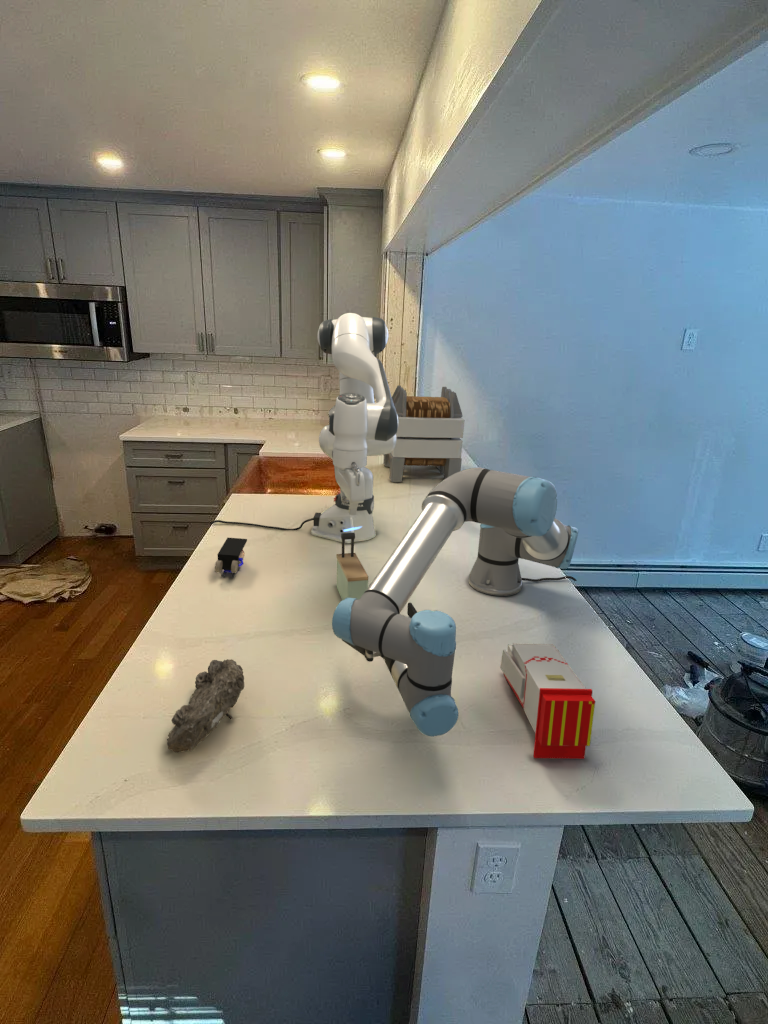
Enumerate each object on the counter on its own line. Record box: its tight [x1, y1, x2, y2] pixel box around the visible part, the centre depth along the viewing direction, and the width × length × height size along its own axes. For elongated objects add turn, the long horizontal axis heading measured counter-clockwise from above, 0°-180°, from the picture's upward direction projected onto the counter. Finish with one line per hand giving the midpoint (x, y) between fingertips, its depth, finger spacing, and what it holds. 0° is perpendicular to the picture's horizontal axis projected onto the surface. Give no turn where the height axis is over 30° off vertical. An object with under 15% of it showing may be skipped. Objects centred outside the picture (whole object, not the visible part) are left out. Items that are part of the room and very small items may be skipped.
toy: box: [499, 642, 596, 760], centre depth 113 cm, size 12×13×30 cm
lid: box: [335, 533, 369, 582], centre depth 151 cm, size 15×5×8 cm, turn 16°
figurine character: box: [214, 537, 248, 578], centre depth 166 cm, size 7×8×15 cm
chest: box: [335, 559, 369, 601], centre depth 153 cm, size 15×5×9 cm, turn 16°
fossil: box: [166, 658, 245, 754], centre depth 106 cm, size 22×10×15 cm
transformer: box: [383, 384, 465, 483], centre depth 268 cm, size 34×33×41 cm
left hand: (348, 508), depth 152 cm, fingers open, 8 cm apart
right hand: (379, 610), depth 124 cm, fingers open, 13 cm apart
